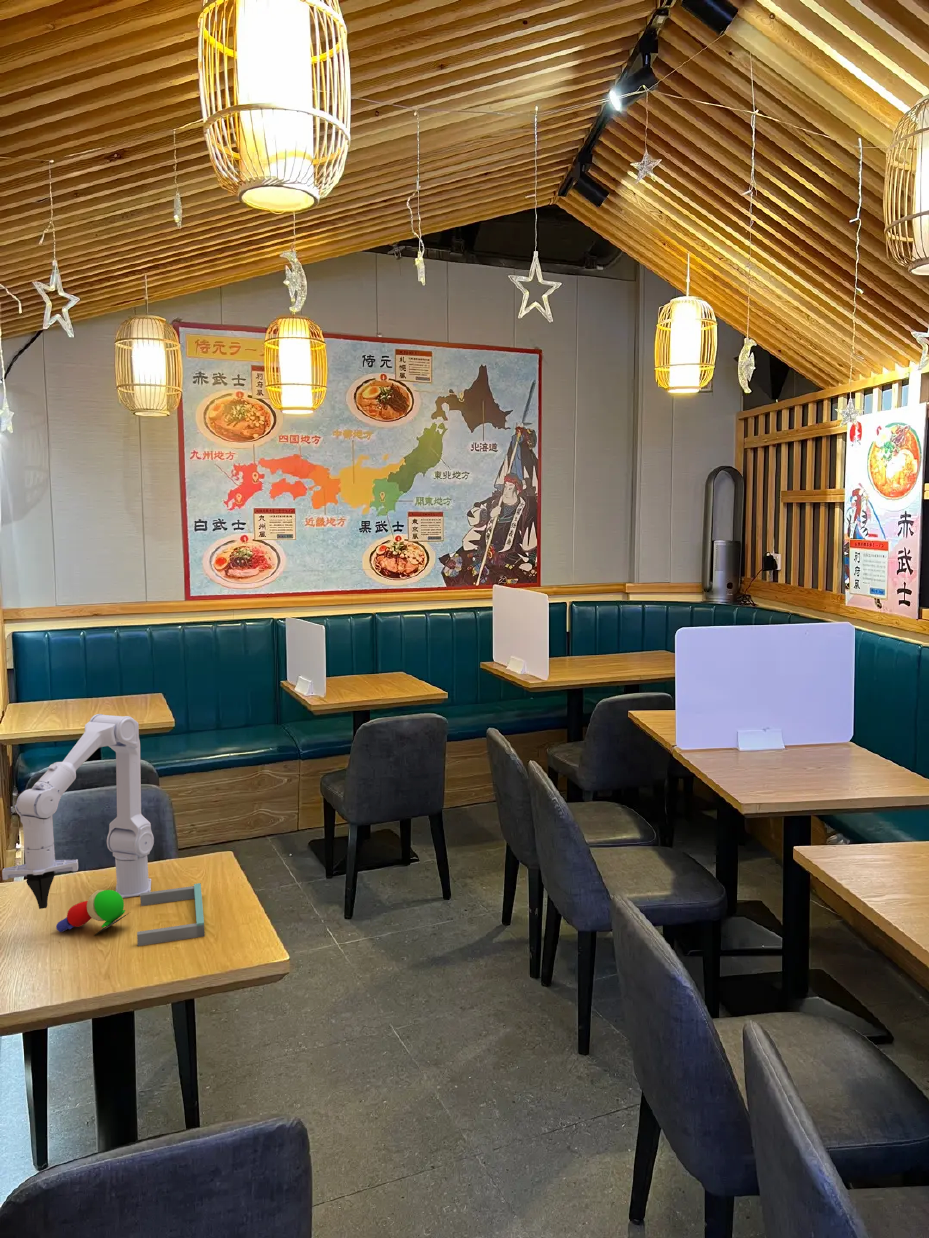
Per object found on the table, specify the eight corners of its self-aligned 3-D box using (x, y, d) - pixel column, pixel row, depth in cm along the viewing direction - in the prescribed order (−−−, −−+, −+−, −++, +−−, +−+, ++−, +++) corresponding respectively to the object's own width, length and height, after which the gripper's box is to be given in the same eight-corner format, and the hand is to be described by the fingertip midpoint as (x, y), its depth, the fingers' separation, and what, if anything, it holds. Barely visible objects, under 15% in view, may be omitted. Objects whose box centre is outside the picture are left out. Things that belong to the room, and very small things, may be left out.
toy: (65, 952, 194) (116, 922, 191) (46, 920, 194) (97, 890, 191) (89, 935, 202) (139, 906, 199) (71, 904, 203) (121, 875, 199)
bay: (141, 903, 211) (140, 890, 210) (201, 895, 215) (200, 882, 215) (137, 946, 189) (136, 932, 189) (204, 936, 193) (204, 922, 193)
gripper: (-2, 855, 186) (2, 919, 187) (74, 846, 190) (78, 909, 192) (4, 844, 193) (8, 905, 194) (77, 836, 197) (81, 896, 198)
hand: (43, 906), depth 193 cm, fingers closed
